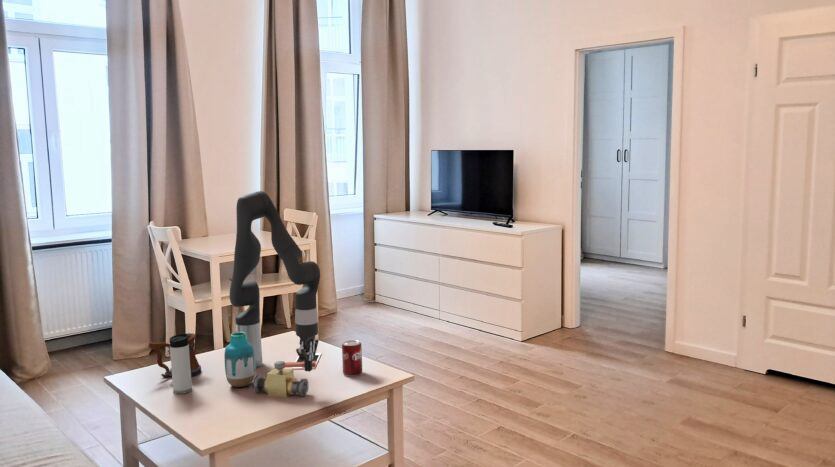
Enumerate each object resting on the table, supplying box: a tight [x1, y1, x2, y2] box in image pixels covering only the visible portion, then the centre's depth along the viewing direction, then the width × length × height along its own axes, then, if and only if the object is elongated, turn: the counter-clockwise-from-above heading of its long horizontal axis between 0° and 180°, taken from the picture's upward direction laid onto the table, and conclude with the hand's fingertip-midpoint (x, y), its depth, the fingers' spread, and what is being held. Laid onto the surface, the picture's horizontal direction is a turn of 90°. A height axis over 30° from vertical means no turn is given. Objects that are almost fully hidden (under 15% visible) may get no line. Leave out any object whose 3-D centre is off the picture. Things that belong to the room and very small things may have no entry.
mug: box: [148, 332, 202, 378], centre depth 249 cm, size 18×12×15 cm, turn 121°
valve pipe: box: [252, 367, 309, 399], centre depth 228 cm, size 18×6×9 cm, turn 74°
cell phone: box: [291, 352, 322, 371], centre depth 262 cm, size 9×18×1 cm, turn 0°
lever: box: [274, 360, 317, 369], centre depth 228 cm, size 14×4×2 cm, turn 91°
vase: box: [223, 332, 256, 388], centre depth 236 cm, size 11×11×19 cm
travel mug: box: [169, 333, 193, 395], centre depth 233 cm, size 6×7×20 cm
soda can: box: [341, 339, 363, 378], centre depth 246 cm, size 7×7×12 cm
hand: (308, 370), depth 225 cm, fingers closed
